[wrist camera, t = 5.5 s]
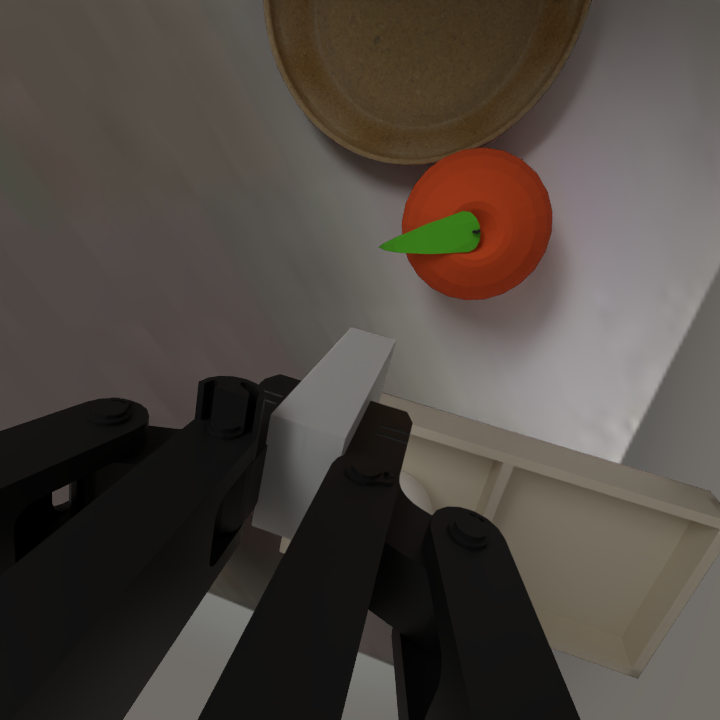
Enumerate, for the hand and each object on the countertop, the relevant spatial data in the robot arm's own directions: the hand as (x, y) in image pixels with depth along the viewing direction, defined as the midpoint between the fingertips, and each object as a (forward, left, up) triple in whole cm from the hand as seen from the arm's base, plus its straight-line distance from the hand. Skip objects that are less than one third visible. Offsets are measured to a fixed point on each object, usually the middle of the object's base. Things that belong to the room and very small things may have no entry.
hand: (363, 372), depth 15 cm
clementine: (-5, +2, -13) cm, 14 cm away
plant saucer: (-14, -3, -14) cm, 20 cm away
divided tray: (+13, +8, -13) cm, 20 cm away
